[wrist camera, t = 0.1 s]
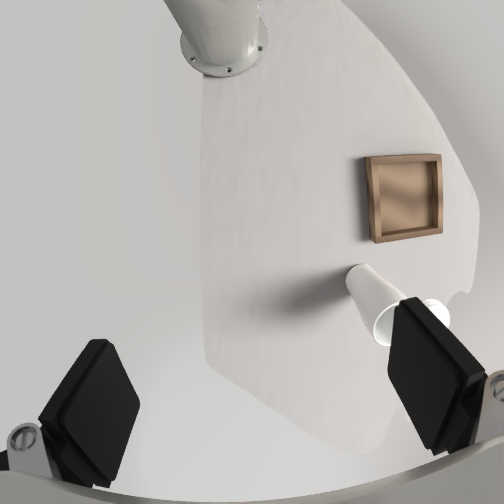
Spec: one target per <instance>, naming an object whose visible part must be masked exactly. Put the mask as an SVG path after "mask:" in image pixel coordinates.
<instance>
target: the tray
mask: <svg viewBox="0 0 504 504" xmlns="http://www.w3.org/2000/svg"><path fill="white" fill-rule="evenodd" d="M364 158H365V168H366V179H367V192H368V207H369V228H370V239H371V240H372V241H373V242H374V243H376V244H377V243H383V242H390V241H396V240H402V239H409V238H415V237H421V236H427V235H434V234H440V233H443V178H442V159H441V154H409V155H388V156H372V157H364Z"/></svg>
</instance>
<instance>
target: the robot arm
mask: <svg viewBox="0 0 504 504" xmlns="http://www.w3.org/2000/svg"><path fill="white" fill-rule="evenodd" d="M164 2H165V3H166V5H167V7H168V8H169V10H170V12H171V13H172V15H173V17H174V18H175V20H176V21H177V23H178V25H179V27H180V28H181V30H182V35H181V40H180V41H181V50H182V53H183V55H184V57H185V59H186V60H187V61H188V63H189V64H190V65H191V66H192V67H193V68H195V69H196V70H198V71H199V72H202V73H204V74H206V75H210V76H215V77H227V76H234V75H237V74H241V73H243V72H245V71H247V70H249V69H250V68H252V67H253V66H255V65H256V64H257V63H258V62H259V61H260V59H261V58H262V56H263V55H264V53H265V50H266V48H267V43H268V32H267V28H266V26H265V23H264V22H263V20H262V19H261V18H260V16H259V13H260V3H261V0H164ZM258 49H261V51H258ZM194 59H195V62H192V61H193V60H194ZM228 70H231V72H228ZM388 376H389V379H390V381H391V383H392V384H393V386H394V388H395V390H396V392H397V394H398V396H399V397H400V399H401V401H402V403H403V405H404V407H405V409H406V411H407V413H408V415H409V417H410V419H411V421H412V423H413V424H414V426H415V428H416V430H417V432H418V434H419V436H420V439H421V440H422V442H423V444H424V446H425V448H426V449H431V451H432V453H433V455H434V456H435V455H438V454H440V453H442V452H445V451H448V453H449V455H447V456H445V457H442V458H440V459H438V460H435V461H432V462H430V463H427V464H425V465H422V466H419V467H416V468H414V469H411V470H408V471H405V472H402V473H399V474H396V475H393V476H389V477H386V478H383V479H379V480H376V481H373V482H369V483H365V484H361V485H357V486H353V487H349V488H345V489H340V490H336V491H330V492H325V493H320V494H314V495H307V496H301V497H294V498H286V499H277V500H266V501H252V502H226V503H225V502H223V503H220V502H219V503H218V502H215V503H212V502H209V503H208V502H185V501H170V500H158V499H150V498H142V497H135V496H129V495H123V494H117V493H112V492H107V491H102V490H97V489H92V486H93V484H95V485H96V486H101V487H105V488H109V487H110V484H111V481H114V480H115V478H116V476H117V473H118V469H119V467H120V464H121V460H122V458H123V455H124V452H125V449H126V445H127V443H128V440H129V437H130V434H131V431H132V428H133V425H134V422H135V420H136V417H137V414H138V411H139V408H140V401H139V398H138V396H137V394H136V392H135V390H134V388H133V386H132V384H131V382H130V380H129V378H128V376H127V373H126V371H125V369H124V367H123V365H122V363H121V361H120V358H119V356H118V354H117V351H116V349H115V347H114V345H113V344H112V343H110V342H109V341H108V340H107V339H92V340H90V341H89V343H88V344H87V345H86V347H85V349H84V350H83V351H82V352H81V354H80V355H79V357H78V358H77V360H76V361H75V363H74V364H73V365H72V367H71V368H70V370H69V371H68V373H67V374H66V376H65V377H64V379H63V380H62V382H61V383H60V385H59V386H58V388H57V389H56V391H55V392H54V394H53V395H52V397H51V398H50V400H49V402H48V403H47V405H46V406H45V408H44V409H43V411H42V413H41V414H40V416H39V418H38V420H39V421H40V422H41V424H42V426H41V428H39V427H38V426H37V425H36V424H33V423H24V424H21V425H19V426H17V427H16V428H15V429H13V430H12V432H11V433H10V435H9V436H8V439H7V450H5V451H3V452H0V504H504V370H501V371H497V372H494V373H493V374H491V375H490V376H489V377H488V376H487V374H486V373H485V369H484V368H483V367H482V365H481V364H480V363H479V362H478V361H477V360H476V359H475V357H473V356H472V354H471V353H470V352H469V351H468V350H467V349H466V347H464V345H463V344H462V343H461V342H460V341H459V340H458V339H457V338H456V337H455V336H454V334H453V333H452V332H450V330H449V329H448V328H447V327H446V326H445V325H444V324H443V323H442V322H441V321H440V320H439V319H438V318H437V317H436V316H435V315H434V314H433V313H432V312H431V311H430V309H429V308H428V307H427V306H426V305H425V304H424V303H423V302H422V301H421V300H420V299H419V298H417V297H413V298H409V299H404V300H401V301H400V302H399V305H398V306H395V308H394V318H393V328H392V338H391V346H390V354H389V362H388Z"/></svg>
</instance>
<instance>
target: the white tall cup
mask: <svg viewBox="0 0 504 504" xmlns="http://www.w3.org/2000/svg"><path fill="white" fill-rule="evenodd" d="M345 282H346V287H347V289H348V290H349V292H350V294H351V296H352V298H353V300H354V302H355V305H356V307H357V309H358V311H359V314H360V316H361V318H362V320H363V322H364V324H365V326H366V328H367V330H368V331H369V333H370V334H371V336H372V337H373V338H374V340H375V341H376V342H377V343H378V344H380V345H383V346H391V338H392V328H393V318H394V308H395V306H398V305H399V302H400V301H401V300H404V299H408V298H407V297H406V296H405V295H404V294H403V293H402V292H401V291H400V290H399V289H397V288H396V287H395V286H394V285H392V284H391V283H390V282H388V281H387V280H386V279H384V278H383V277H382V276H381V275H379V274H378V273H377V272H375V271H374V270H373V269H372V268H371V267H370V266H368V265H365V264H360V265H356V266H354V267H353V268H352V269H351V270H350V271H349V272H348V274H347V276H346V281H345Z"/></svg>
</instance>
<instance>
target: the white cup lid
mask: <svg viewBox="0 0 504 504" xmlns="http://www.w3.org/2000/svg"><path fill="white" fill-rule="evenodd" d="M422 302H423V303H424V304H425V305H426V306H427V307H428V308H429V309H430V311H431V312H432V313H433V314H434V315H435V316H436V317H437V318H438V319H439V320H440V321H441V322H442V323H443V324H444V325H445V326H446V327H447V328H448V326H449V322H450V316H449V312H448V310H447V309H446V308H445V307H444V306H443V305H442V304H441V303H440V302H439V301H437V300H435V299H426V300H423V301H422Z"/></svg>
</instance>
